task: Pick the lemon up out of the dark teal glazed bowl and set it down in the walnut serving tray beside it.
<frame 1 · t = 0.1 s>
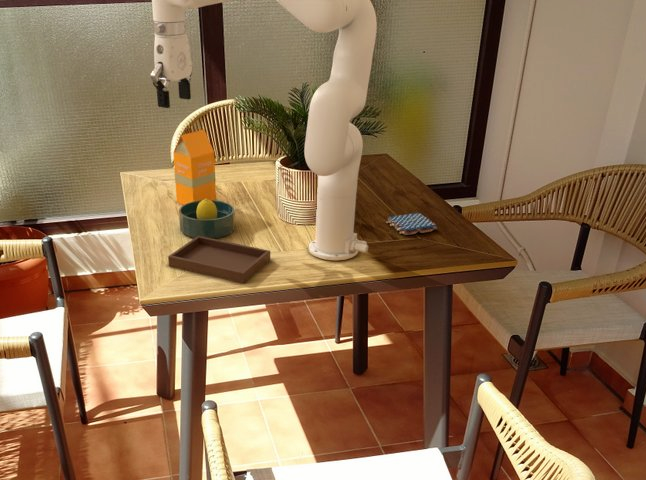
hand: (174, 102, 184), 31 cm above the table, tool pointing down, fingers open, 9 cm apart
orange juice: (196, 202, 214), on the table
lemon: (207, 228, 196), resting on bowl
bowl: (207, 229, 196), on the table
woven mat: (411, 227, 199), on the table
tray: (220, 263, 179), on the table
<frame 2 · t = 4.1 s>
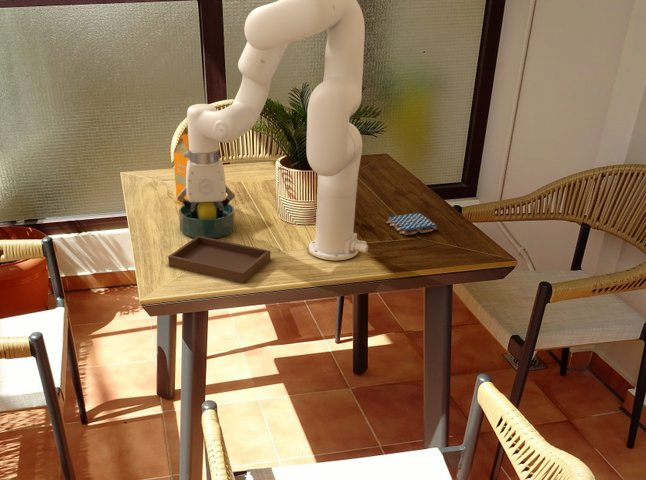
hand: (207, 222, 195), 2 cm above the table, tool pointing down, fingers closed on lemon, 5 cm apart
lemon: (207, 228, 196), resting on bowl, touching gripper
everything else where it was.
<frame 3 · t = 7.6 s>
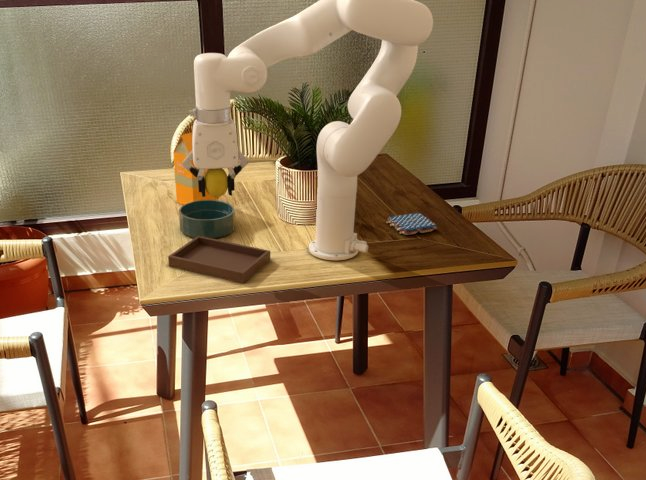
hand: (216, 193, 171), 17 cm above the table, tool pointing down, fingers closed on lemon, 5 cm apart
lemon: (217, 199, 172), point 15 cm above the table, touching gripper
everything else where it was.
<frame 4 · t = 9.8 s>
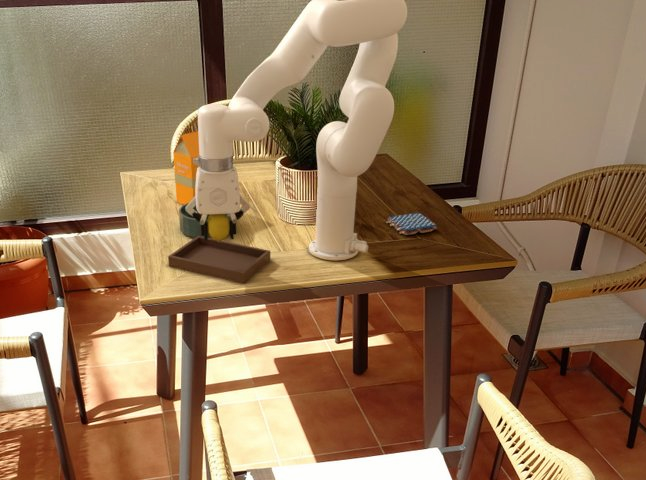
hand: (218, 236, 175), 7 cm above the table, tool pointing down, fingers closed on lemon, 5 cm apart
lemon: (218, 242, 176), point 5 cm above the table, touching gripper
everything else where it was.
when the fingers open (2 cm above the table, at t = 11.4 s): lemon stays where it is, resting on tray.
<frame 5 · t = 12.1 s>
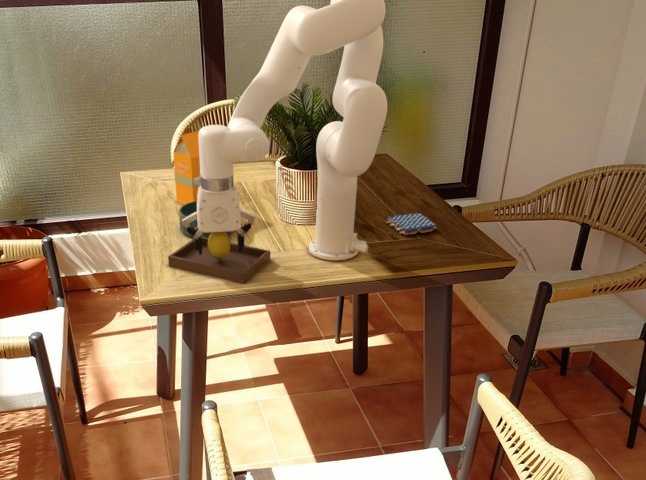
hand: (220, 250, 177), 3 cm above the table, tool pointing down, fingers open, 9 cm apart
lemon: (219, 261, 179), point 1 cm above the table, touching tray
everything else where it was.
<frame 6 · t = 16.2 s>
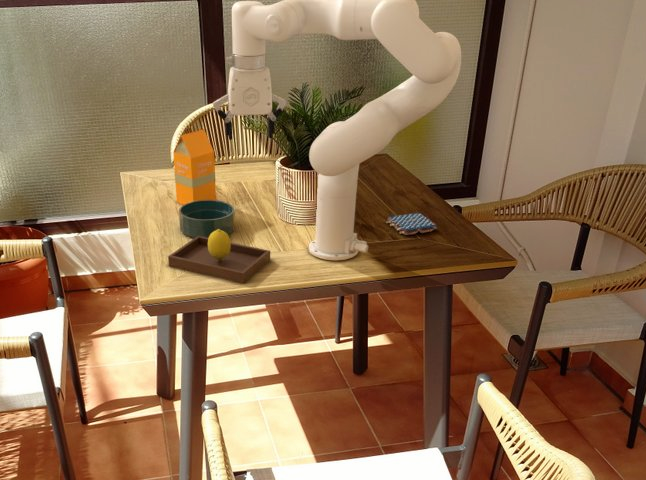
hand: (250, 137, 177), 26 cm above the table, tool pointing down, fingers open, 9 cm apart
nothing on the table moved.
at the end: lemon inside the target area on the tray (0.0 cm from its centre), point 0.6 cm above the tray's base; lemon touching tray; the gripper is holding nothing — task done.
